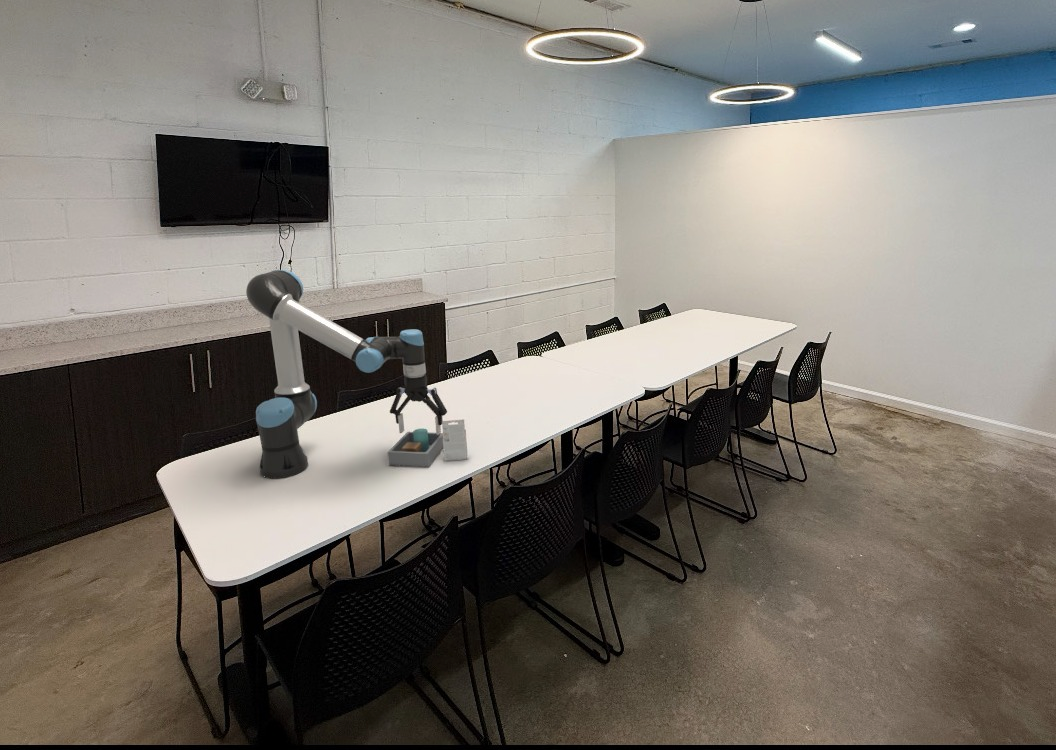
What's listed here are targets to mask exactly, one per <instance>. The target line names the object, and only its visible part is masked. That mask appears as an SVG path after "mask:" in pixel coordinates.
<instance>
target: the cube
mask: <svg viewBox="0 0 1056 750" xmlns="http://www.w3.org/2000/svg"><path fill="white" fill-rule="evenodd" d="M402 451H404V452H422V447H421V443H415V442H407V443H406V444H405V445H404V446H403V447H402Z"/></svg>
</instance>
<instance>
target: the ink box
mask: <svg viewBox="0 0 1056 750" xmlns="http://www.w3.org/2000/svg"><path fill="white" fill-rule="evenodd" d="M453 423H454V424H453ZM455 423H457V424H455ZM441 426H442V433H443V434H442V437H443V457H444V459H443V460H444V462H449V461H463V460H468V459H469V457H468V443H467V432H466V429H465V426H466V425H465V419H457V420H456V419H454V420H443V421H442V425H441Z"/></svg>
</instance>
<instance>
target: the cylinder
mask: <svg viewBox="0 0 1056 750" xmlns="http://www.w3.org/2000/svg"><path fill="white" fill-rule="evenodd" d="M412 432H413V436H414V442H415V443H421V447H422V452H426V451H427V450H428V449H429V442H428V429H427V428H416V429H414V430H413V431H412Z"/></svg>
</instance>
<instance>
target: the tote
mask: <svg viewBox="0 0 1056 750" xmlns="http://www.w3.org/2000/svg"><path fill="white" fill-rule="evenodd" d="M442 434H443V432H440V434H439V435H436V432H428V442H429V449H428V450H427V451H426V452H404V451H402V447H403V446H404V445H405V444H406V443H407V442H414V436H413V431H406V432H405V434H404V435H403V436H402V437H401V438H400V439H399V440H398V441H397V442H396V443H395V444H394V445H393V446H392V447H391V448H390V449H389V450H388V451H387V457H388V464H389V465H388V466H389V467H390V466H391V467H407V468H410V467H411V468H413V467H414V468H430V467H431V466H432V464H433V463H434V461H435V460H436V459H437V458H438V457H439V455H441V452H442V451H444V449H443V437H442Z"/></svg>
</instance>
